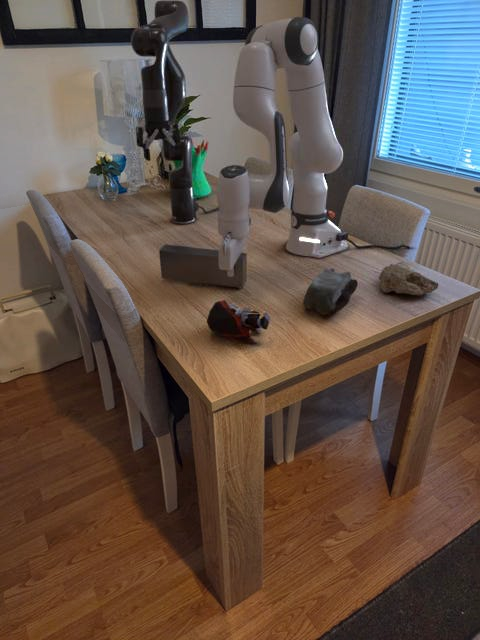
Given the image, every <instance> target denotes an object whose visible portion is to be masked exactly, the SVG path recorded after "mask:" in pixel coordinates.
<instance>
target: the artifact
mask: <svg viewBox="0 0 480 640" xmlns="http://www.w3.org/2000/svg"><path fill="white" fill-rule="evenodd" d="M378 279H379V281H380V282H379V286H380V290H382V292H383V293H384V294H388V293H390V292H395V294H407V295H412V296H422V295H424V294H431V293H432V292H434V291H435V290H438V287H439V282H436V281H434V280H432V279H430V278H429V277H427V276H424V275H422V274H421V273H420V272H417V271H415V270H414V269H412V268H411V267H410V266H409V265H407V264H406V263H405V262H404V261H399V262H397V263H395V264H392V263H390V264H389V265H386V266H385V267H384V268H382V270H381V272H380V274H379V276H378Z"/></svg>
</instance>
